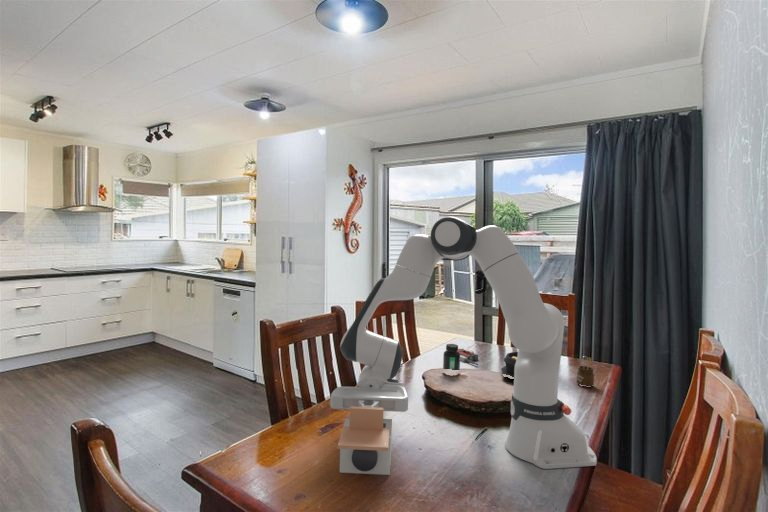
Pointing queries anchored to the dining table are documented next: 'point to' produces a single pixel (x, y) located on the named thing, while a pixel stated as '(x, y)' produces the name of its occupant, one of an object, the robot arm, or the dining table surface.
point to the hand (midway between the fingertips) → (367, 411)
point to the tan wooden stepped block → (365, 430)
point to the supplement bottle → (451, 357)
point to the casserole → (509, 363)
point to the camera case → (366, 457)
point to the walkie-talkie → (468, 356)
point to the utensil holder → (585, 374)
